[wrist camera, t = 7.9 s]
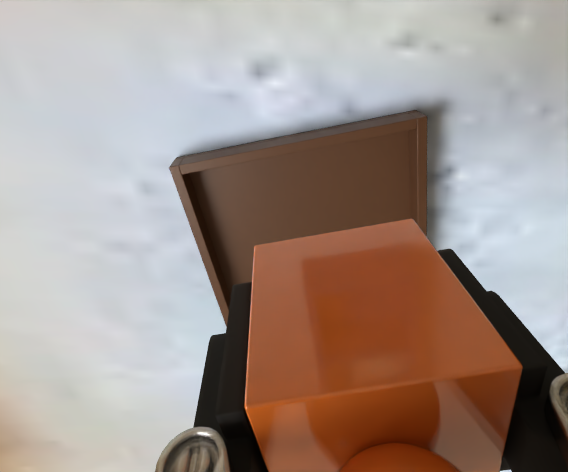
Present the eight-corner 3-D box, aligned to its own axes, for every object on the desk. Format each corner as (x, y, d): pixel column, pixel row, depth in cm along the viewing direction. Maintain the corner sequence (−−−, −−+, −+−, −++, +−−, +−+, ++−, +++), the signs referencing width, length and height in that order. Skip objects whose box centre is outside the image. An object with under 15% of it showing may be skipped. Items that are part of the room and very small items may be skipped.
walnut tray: (235, 330, 31) (233, 347, 29) (176, 157, 23) (168, 167, 22) (417, 300, 30) (426, 316, 28) (416, 109, 22) (427, 116, 21)
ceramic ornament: (281, 354, 12) (298, 730, 6) (253, 244, 10) (226, 650, 4) (412, 333, 12) (585, 702, 6) (413, 217, 10) (700, 598, 3)
